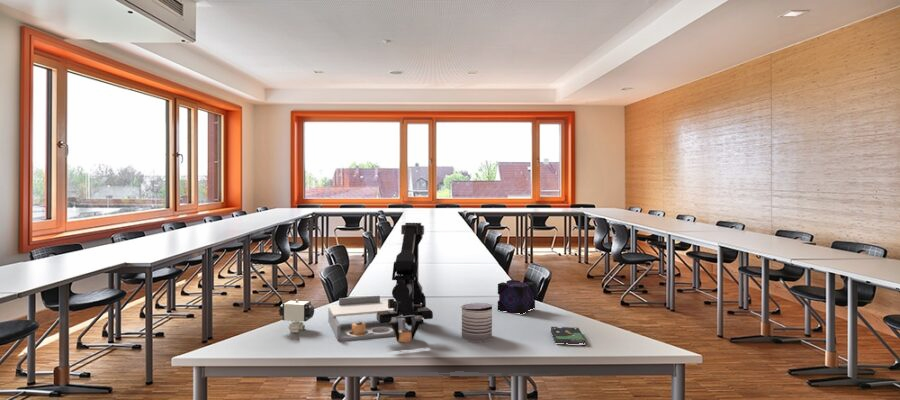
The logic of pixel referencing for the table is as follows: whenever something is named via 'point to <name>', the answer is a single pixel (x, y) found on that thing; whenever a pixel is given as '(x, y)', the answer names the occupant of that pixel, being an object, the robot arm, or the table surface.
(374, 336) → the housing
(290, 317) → the pneumatic valve
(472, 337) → the can
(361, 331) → the orange grey domed knob
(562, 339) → the disk drive
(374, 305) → the lid
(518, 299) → the energy cube
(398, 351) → the table surface
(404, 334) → the orange grey rounded piece
